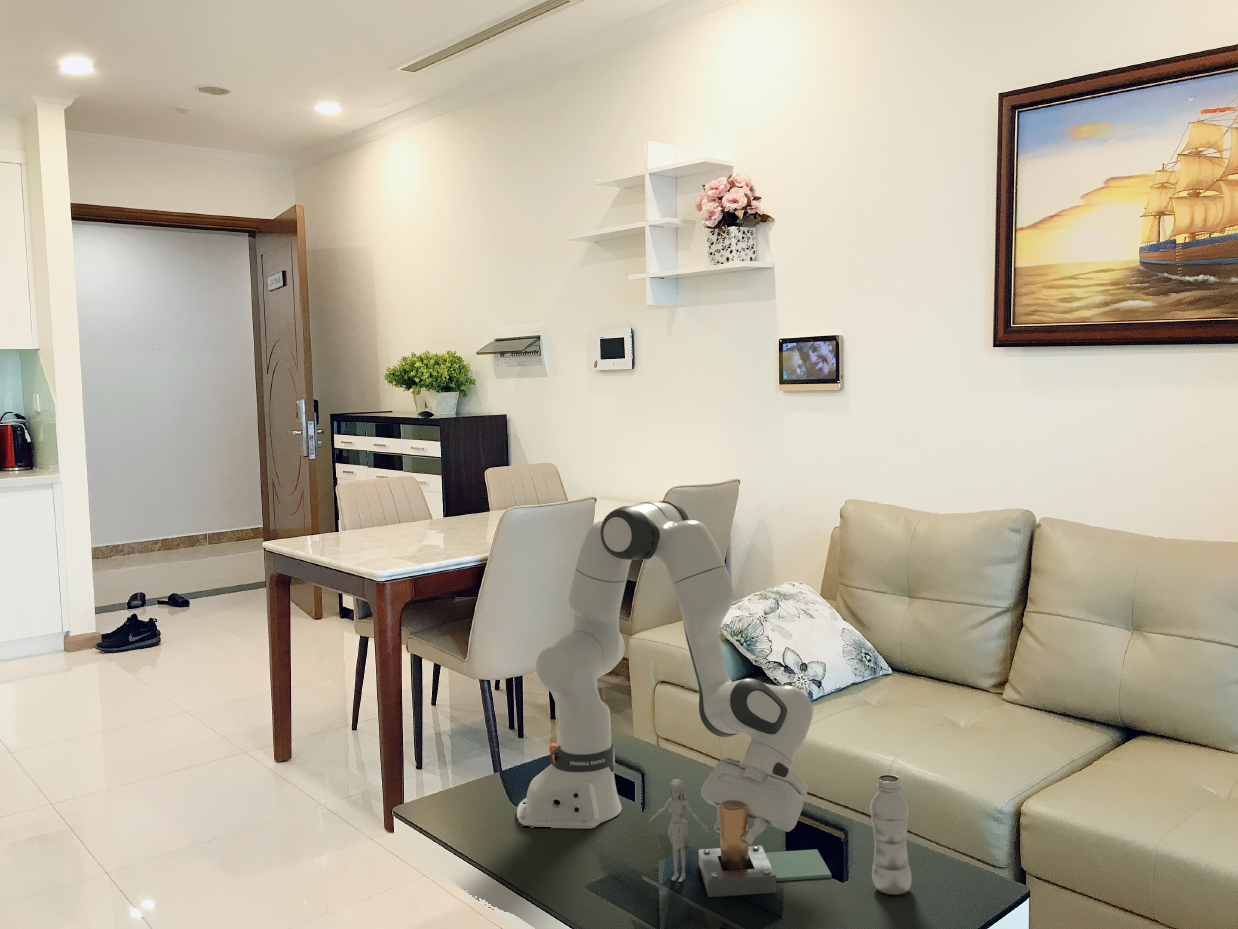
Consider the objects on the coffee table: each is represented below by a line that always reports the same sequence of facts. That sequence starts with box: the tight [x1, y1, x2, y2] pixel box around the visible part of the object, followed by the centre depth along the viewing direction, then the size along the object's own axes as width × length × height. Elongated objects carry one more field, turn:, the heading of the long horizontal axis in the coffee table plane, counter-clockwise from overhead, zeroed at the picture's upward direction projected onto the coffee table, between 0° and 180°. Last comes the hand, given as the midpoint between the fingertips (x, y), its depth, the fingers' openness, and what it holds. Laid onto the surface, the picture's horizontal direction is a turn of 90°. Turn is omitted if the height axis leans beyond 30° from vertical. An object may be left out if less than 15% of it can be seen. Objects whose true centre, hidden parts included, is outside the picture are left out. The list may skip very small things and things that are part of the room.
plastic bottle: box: [869, 774, 913, 896], centre depth 168 cm, size 6×7×20 cm
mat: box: [765, 848, 832, 882], centre depth 179 cm, size 10×10×1 cm
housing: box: [697, 845, 777, 898], centre depth 175 cm, size 12×12×3 cm
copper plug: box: [719, 800, 749, 871], centre depth 175 cm, size 5×5×13 cm
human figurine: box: [647, 778, 710, 883], centre depth 176 cm, size 12×4×18 cm, turn 63°
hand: (731, 837), depth 174 cm, fingers closed on copper plug, 5 cm apart
